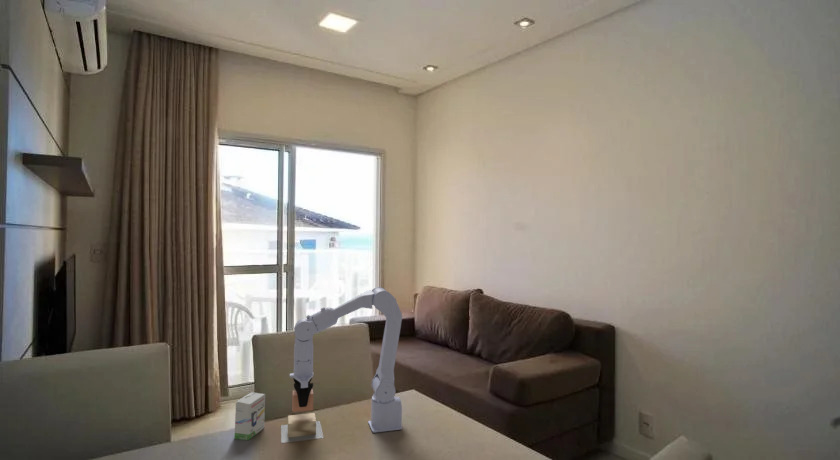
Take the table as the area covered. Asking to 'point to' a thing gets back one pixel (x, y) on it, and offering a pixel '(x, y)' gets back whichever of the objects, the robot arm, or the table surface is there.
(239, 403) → the ink box
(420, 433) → the table surface
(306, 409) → the terracotta brick
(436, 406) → the table surface
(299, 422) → the maple brick
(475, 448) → the table surface
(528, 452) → the table surface
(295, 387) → the robot arm
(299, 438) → the base plate
